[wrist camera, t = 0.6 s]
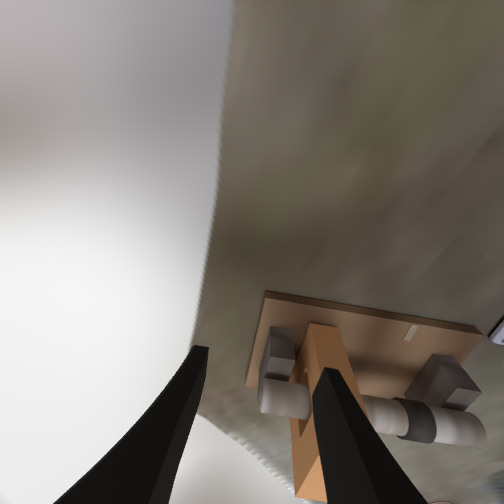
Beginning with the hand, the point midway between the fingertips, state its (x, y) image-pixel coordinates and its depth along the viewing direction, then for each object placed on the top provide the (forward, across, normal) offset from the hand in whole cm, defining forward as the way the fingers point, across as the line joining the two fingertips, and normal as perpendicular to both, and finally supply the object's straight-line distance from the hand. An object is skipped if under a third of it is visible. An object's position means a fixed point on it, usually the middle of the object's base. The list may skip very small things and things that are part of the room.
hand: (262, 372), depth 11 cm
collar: (+9, -6, +9) cm, 14 cm away
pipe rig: (+10, -10, +9) cm, 17 cm away
